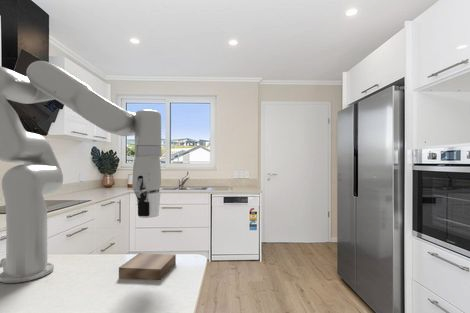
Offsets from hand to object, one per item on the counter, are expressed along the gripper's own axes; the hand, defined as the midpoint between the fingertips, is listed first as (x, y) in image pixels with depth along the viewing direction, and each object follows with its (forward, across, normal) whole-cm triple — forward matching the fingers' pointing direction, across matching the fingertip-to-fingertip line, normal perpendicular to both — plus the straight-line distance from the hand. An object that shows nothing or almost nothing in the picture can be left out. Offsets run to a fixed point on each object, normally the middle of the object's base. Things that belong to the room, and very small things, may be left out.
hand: (148, 213), depth 82 cm
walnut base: (+17, 0, 0) cm, 17 cm away
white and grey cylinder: (+1, 0, 0) cm, 1 cm away
